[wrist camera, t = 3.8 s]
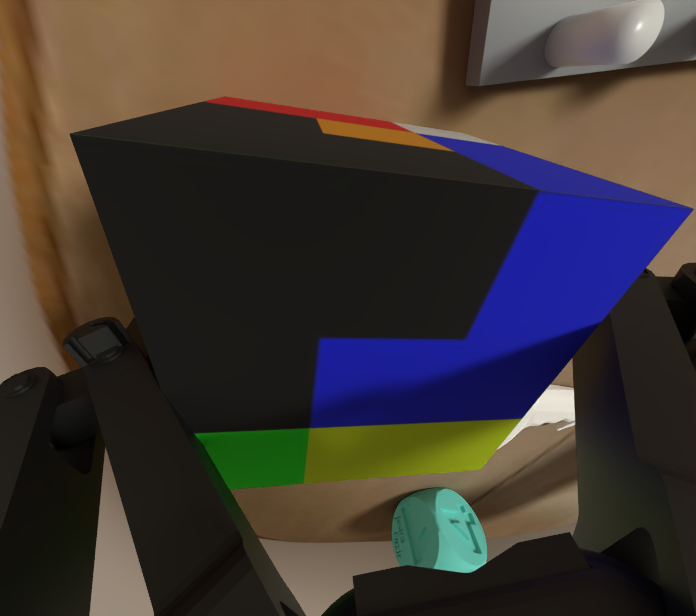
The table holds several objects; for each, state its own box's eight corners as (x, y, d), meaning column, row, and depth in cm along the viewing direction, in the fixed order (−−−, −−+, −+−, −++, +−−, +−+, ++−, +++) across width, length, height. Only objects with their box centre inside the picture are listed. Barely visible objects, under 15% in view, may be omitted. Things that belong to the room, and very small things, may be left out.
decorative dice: (425, 483, 36) (452, 568, 30) (467, 491, 40) (500, 568, 33) (384, 509, 40) (400, 591, 33) (426, 515, 43) (449, 589, 37)
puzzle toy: (461, 132, 13) (693, 209, 6) (405, 310, 19) (480, 469, 11) (224, 96, 12) (69, 133, 4) (242, 305, 17) (197, 491, 10)
